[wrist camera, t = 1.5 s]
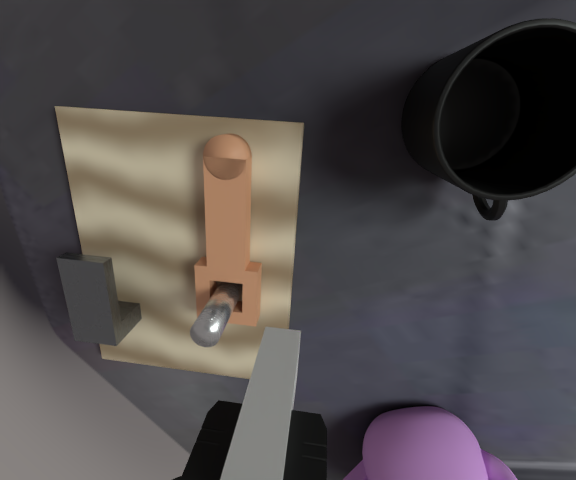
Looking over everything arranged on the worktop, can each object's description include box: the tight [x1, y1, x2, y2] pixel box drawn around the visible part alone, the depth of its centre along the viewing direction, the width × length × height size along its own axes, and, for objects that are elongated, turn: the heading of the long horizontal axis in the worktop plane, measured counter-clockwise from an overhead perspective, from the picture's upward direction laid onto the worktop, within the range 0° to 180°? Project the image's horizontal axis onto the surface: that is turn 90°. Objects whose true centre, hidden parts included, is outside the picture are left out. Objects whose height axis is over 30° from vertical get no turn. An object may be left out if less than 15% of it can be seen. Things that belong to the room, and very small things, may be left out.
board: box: [55, 106, 304, 379], centre depth 33 cm, size 28×22×1 cm
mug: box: [402, 19, 576, 220], centre depth 22 cm, size 9×12×9 cm
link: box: [194, 133, 262, 327], centre depth 30 cm, size 18×6×2 cm, turn 176°
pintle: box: [190, 282, 243, 347], centre depth 29 cm, size 2×2×8 cm
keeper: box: [56, 253, 142, 346], centre depth 32 cm, size 9×4×5 cm, turn 177°
